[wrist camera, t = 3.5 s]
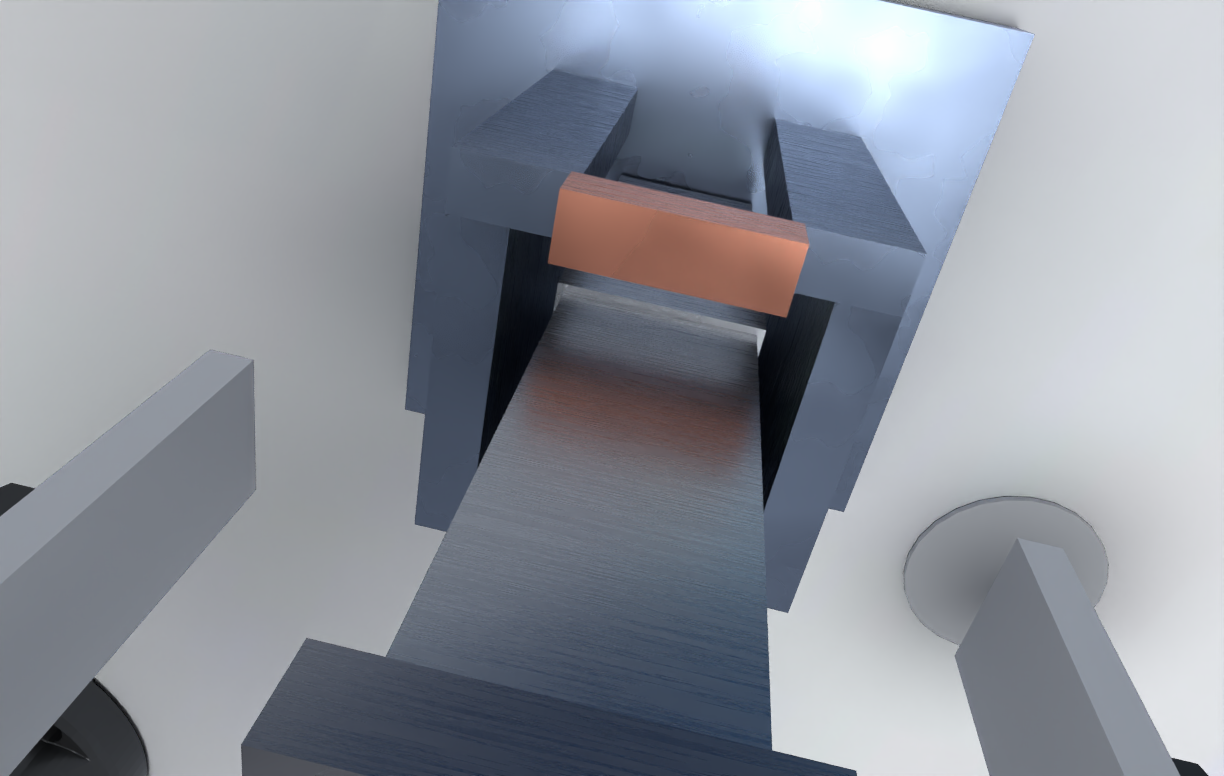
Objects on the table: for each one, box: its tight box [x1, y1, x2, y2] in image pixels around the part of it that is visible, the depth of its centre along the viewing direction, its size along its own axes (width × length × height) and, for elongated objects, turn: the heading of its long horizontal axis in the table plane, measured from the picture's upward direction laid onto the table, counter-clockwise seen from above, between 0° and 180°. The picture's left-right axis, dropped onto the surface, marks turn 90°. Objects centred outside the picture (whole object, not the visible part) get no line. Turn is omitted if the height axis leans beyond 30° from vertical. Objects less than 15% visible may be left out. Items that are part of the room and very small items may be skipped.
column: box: [241, 175, 857, 776], centre depth 17 cm, size 5×5×21 cm
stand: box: [405, 0, 1035, 613], centre depth 23 cm, size 16×16×13 cm
